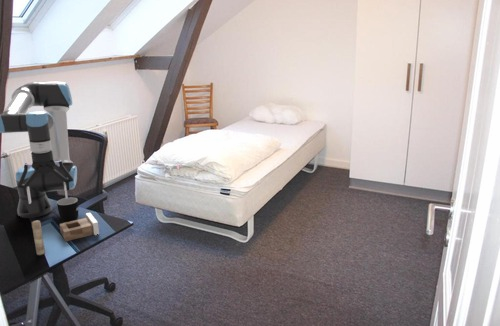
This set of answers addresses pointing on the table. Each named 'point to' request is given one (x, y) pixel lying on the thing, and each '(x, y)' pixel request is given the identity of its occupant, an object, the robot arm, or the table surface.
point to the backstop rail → (93, 223)
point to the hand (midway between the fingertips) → (48, 200)
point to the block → (76, 229)
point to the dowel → (38, 237)
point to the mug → (68, 209)
